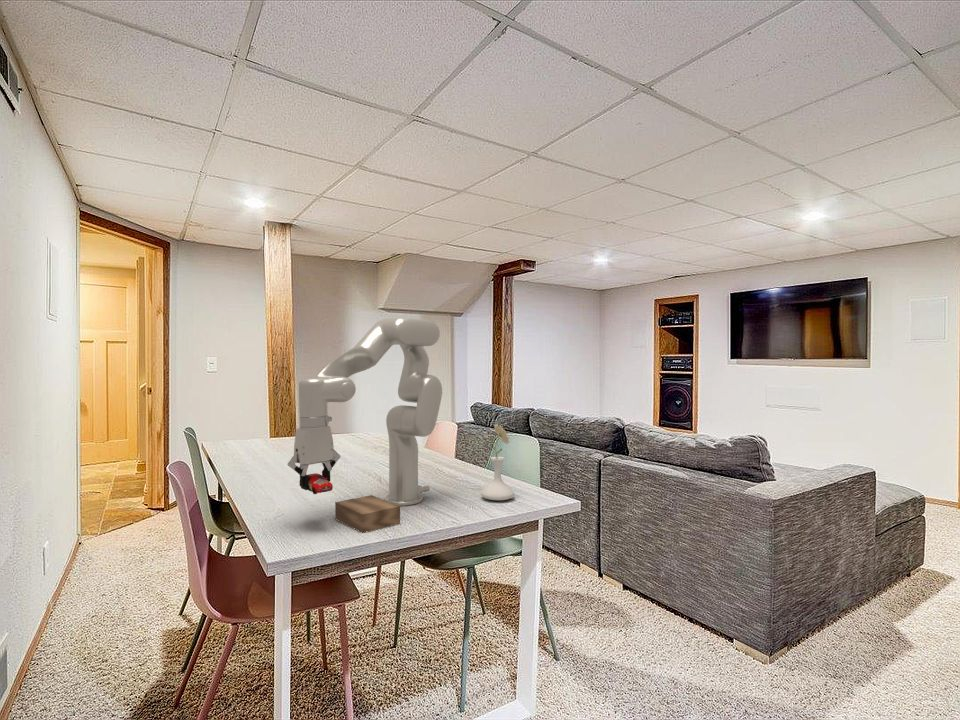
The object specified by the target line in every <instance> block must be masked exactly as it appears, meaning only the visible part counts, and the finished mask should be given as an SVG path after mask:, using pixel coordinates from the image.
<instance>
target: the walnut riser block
mask: <svg viewBox="0 0 960 720" xmlns="http://www.w3.org/2000/svg"><path fill="white" fill-rule="evenodd" d="M334 503H335V505H334V506H335V507H334V508H335V510H334V512H335V513H334V516H335V518H334V519H335V520H336V519H337V520H336V521H338V520H339V521H338V522H340V521H341V522H340V523H342V522H343V523H342V524H344V525H346V526H348V527H350V528H352V529H354V528H355V529H354V530H356V529H357V530H359V531H360V533H361V532H362V534H364V533H367V532H366V531H368V532H372V531H376V530H375V529H377V530H379V529H380V528H381V529H383V527H385V528H388V527H387V526H389V527H392V526H391V525H393V526H396V525H395V524H397V525H400V524H401V506H399V505H396V504H393V503H391V502H388V501H386V500H384V498H383V499H382V498H380V497H378V496H375V495H372V494H370V495H367V496H360V497H355V498H349V499H345V500H340V501H335V502H334ZM357 530H356V531H357ZM371 530H372V531H371ZM359 531H358V532H359ZM363 532H364V533H363Z"/></svg>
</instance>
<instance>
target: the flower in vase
mask: <svg viewBox="0 0 960 720" xmlns="http://www.w3.org/2000/svg"><path fill="white" fill-rule="evenodd" d="M493 428H494V430H495V434H497V439H496V441H495V444H494V445H492V446H493V449H492V450H493V451H495V452H494V453H495V456H491V457H490V460H491V462H492V464H493V471H494V473H493V474H494V475H493V476H494V477H493V479H492V481H491V482H490V483H488V484H487V485H486V486H485V487H484V488H482V490H481V492H480V495H481V497H482V498H484V499H486V500H490V501H506V500H509V499H511V498H512V499H513V498H514V496H515V491H514V490H513V489H512V488H511V487H510V486H509V485H508V484H506V483H505V482H504V480H503V479H502V466H503V463H504V461H505V460H506V457H504V456H498V454H499V453H500V452H502V451H503V448H500V449H499V450H498V451H497V443H498V441H499V439H500V440H501V441H502V442H503V443H505V445H506V444H509V443H510V441H509V440H510V438H509V436H508V434H507V433H506V432H507V431H506V430H505V429H504V428H503V427H502V425H501V424H498V423H496V424H495V425H494V427H493Z"/></svg>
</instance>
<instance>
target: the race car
mask: <svg viewBox="0 0 960 720" xmlns="http://www.w3.org/2000/svg"><path fill="white" fill-rule="evenodd" d="M306 475H307V476H308V490H307V491H309V492H311V493H312V494H313V495H317V494H321V493H328V492H331V491H332V490H333V483H332V482H331V481H330V482H329V481H327V480H326V479H327V478H324V477H323V476H322V474H319V473H310V474H309V473H308V474H306ZM298 483H300V480H299V481H298ZM300 488H301V489H302V487H301V486H300Z"/></svg>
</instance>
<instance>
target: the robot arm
mask: <svg viewBox="0 0 960 720" xmlns="http://www.w3.org/2000/svg"><path fill="white" fill-rule="evenodd" d="M440 332H441V331H440V328H439V326H438V324H437V323H436V322H434V321H433V320H430V319H419V318H412V317H411V318H410V317H393V318H391V317H390V318H383V319H380V320H377V321H376V323H375V324H374V325H373V326H372V327H371V328H370V329H369V330H368V331H367V332H366V333H365V334H364V336H363V337H361V339H360V340H358V342H357V343H356V344H355V345H354V346H353V347H352V348H350V349H349V350H347V351H345V352H344V353H343V354H340V355H339V356H338V357H336V358H334V359H333V360H332V361H330V362H329V363H327V364H326V366H325V367H323V369H321V371H319V373H318V374H317V375H316V376H315V377H314V378H313V377H309V378H303V379H300V380H299V382H298V413H299V415H298V416H299V422H298V423H299V427H297V428H296V430H295V434H294V435H295V436H294V446H293V455H292V456H291V458H290V460H289V461H288V462H287V464H286V465H287V466H288V467H289V468H291V469H292V470H293V471H294V472H296V473H297V474H298V475H299V481H300V482H299V487H300V488H301V487H302V488H301V490H304V491H309V490H308V476H307V475H308V474H307V472H308V469H309V465H315V464H320V463H321V465H322V467H323V469H322V471H321V475H322V476H323V477H324V478H327V479H326V480H327V481H329V482H330V483H331V472H332V469H333V468H334V466H335V465H336V464H337V462H338V461H339V460H340V458H341V455H340V454H339V452H337V450H335V448H334V439H333V433H332V430H331V426H330V425H329V422H332V421H333V417H332V416H329V415H328V403H345V402H346V403H347V402H348V401H350V400H351V399H352V398H353V397H354V396H355V394H356V390H357V387H356V384H355V382H354V381H353V380H352V379H350V377H351V376H353V375H355V374H358V373H361V372H364V371H367V370H369V369H371V368H373V367H375V366H376V365H377V364H378V363H379V362H380V360H381V359H382V358H383V357H384V356H385V354H386V353H387V352H388V351H389V350H390V349H391V348H392V347H393V346H395V345H399V346H400V348H401V351H402V352H403V367H402V369H401V374H400V377H399V378H400V379H399V382H398V387H397V396H398V398H399V399H400V400H401V401H403V402H405V403H412V404H413V403H415V404H416V406H415V405H403V404H401V405H396V406H394V407H392V408H391V409H389V410H388V412H387V415H386V419H385V420H386V421H385V423H386V424H385V425H386V429H387V434H388V444H389V445H388V452H389V453H388V456H389V458H388V459H389V464H388V469H389V470H388V475H389V476H388V477H389V478H388V479H389V480H388V482H389V483H388V495H385V496H384V498H383V500H386V501H388V502H391V503H393V504H396V505H399V506H400V507H401V506H411V505H412V506H413V505H417V504H419V503H421V502H422V501H423V500H424V498H423V497H424V496H423V495H421V494H423V493H426V492H429V491H431V487H430V486H429V485H424V486H422V485H419V446H418V445H419V444H418V441H417V438H416V437H428V436H429V435H431V434H432V433H433V431H434V430H435V428H436V424H437V421H438V416H439V411H440V407H441V402H442V398H443V387H442V383H441V380H440V379H439V378H438V377H437V376H435V375H432V374H428V371H429V365H430V359H429V356H428V353H427V351H426V349H425V347H430V346H434V345H436V344H437V342H438V341H439V340H440V336H441V333H440ZM297 464H299V466H298V465H297Z"/></svg>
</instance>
